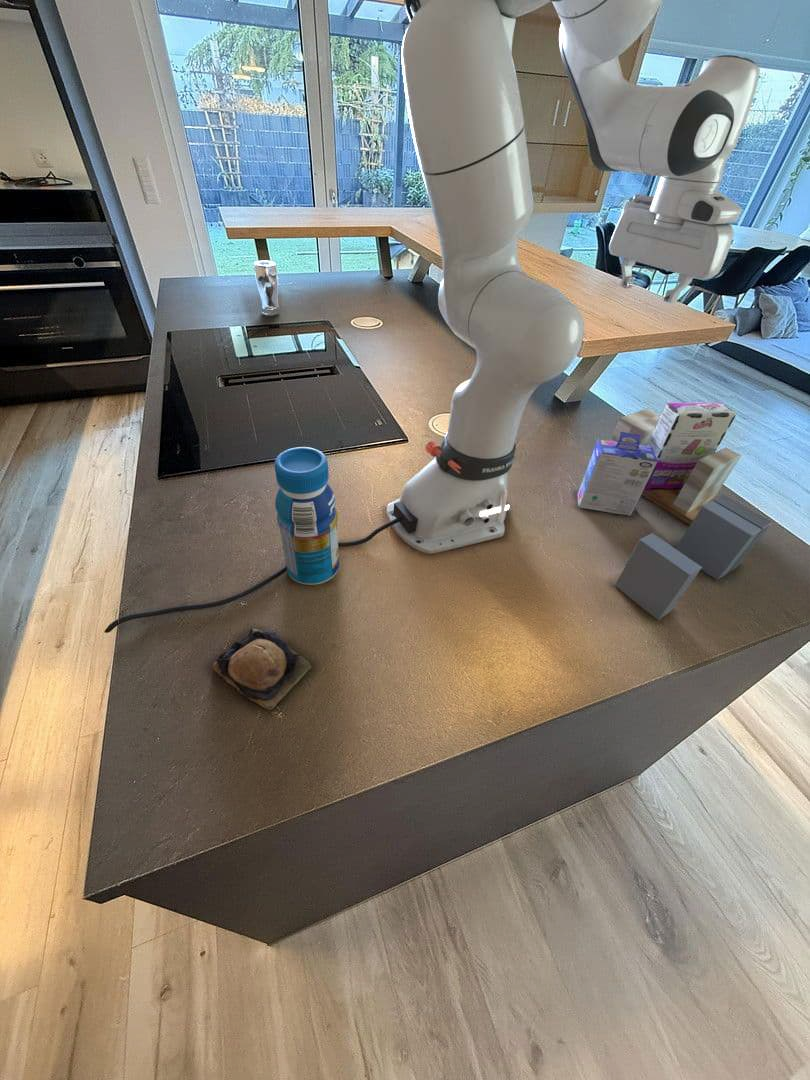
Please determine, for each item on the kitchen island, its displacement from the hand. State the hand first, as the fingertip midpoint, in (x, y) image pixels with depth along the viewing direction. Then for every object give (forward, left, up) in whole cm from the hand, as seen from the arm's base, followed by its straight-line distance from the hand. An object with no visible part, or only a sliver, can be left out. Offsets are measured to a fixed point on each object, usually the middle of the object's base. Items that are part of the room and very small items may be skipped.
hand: (646, 294), depth 84 cm
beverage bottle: (-71, -5, -31) cm, 78 cm away
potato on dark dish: (-84, -18, -31) cm, 91 cm away
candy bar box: (-1, -19, -30) cm, 36 cm away
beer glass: (-34, +111, -31) cm, 120 cm away
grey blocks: (-20, -36, -31) cm, 52 cm away
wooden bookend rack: (-1, -19, -31) cm, 36 cm away
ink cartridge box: (-16, -17, -31) cm, 39 cm away
